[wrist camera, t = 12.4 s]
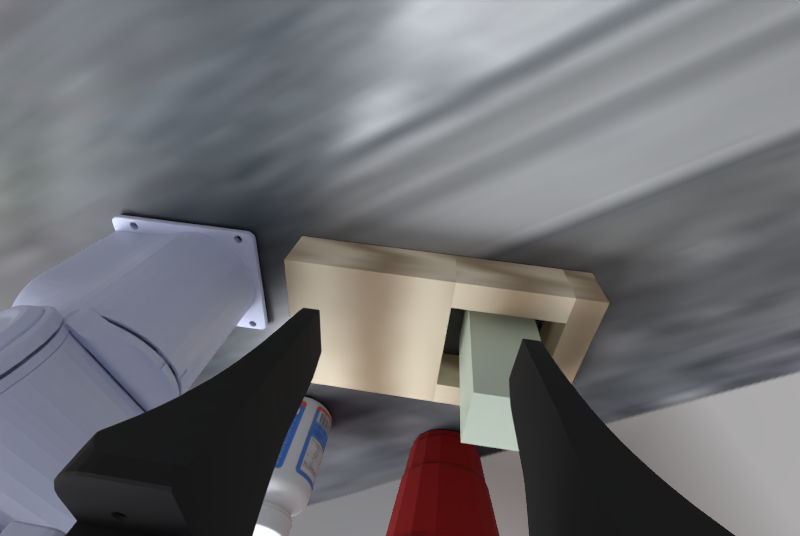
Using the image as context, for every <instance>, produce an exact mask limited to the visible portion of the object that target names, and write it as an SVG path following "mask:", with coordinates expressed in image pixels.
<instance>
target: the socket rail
mask: <svg viewBox="0 0 800 536" xmlns="http://www.w3.org/2000/svg"><path fill="white" fill-rule="evenodd" d="M284 265H285V275H286V284H287V294H288V304H289V313H290V318H291V317H293V316H294V315H295V314H296V313H297V312H298V311H299V310H301V309H302V308H310V309H317V310H320V329H321V349H322V352H321V355H320V358H319V361H318V365H317V368H316V371H315V374H314V377H313V379H312V381H311V383H316V384H323V385H329V386H336V387H342V388H349V389H355V390H362V391H368V392H375V393H381V394H388V395H394V396H401V397H407V398H414V399H421V400H427V401H434V402H440V403H447V404H453V405H460V369H459V355H453V354H446V353H443V348H444V343H445V337H446V332H447V327H448V322H449V316H450V311H451V308H457V309H464V310H472V311H479V312H486V313H494V314H501V315H508V316H516V317H523V318H530V319H537V320H544V322H543V325H542V327H541V330H540V333H539V335H540V339H541V342H542V344H543V345H544V347H545V348H546V349H547V351H548V352H549V354H550V355H551V356H552V358H553V359H554V361H555V362H556V364H557V365H558V366H559V368H560V369H561V371H562V372H563V373H564V375H565V376H566V377H567V379H568V380H569V381H570V383H571V384H572V382H573V380H574V378H575V375H576V373H577V371H578V369H579V367H580V365H581V363H582V361H583V358H584V356H585V354H586V352H587V350H588V348H589V346H590V344H591V342H592V339H593V337H594V335H595V333H596V331H597V329H598V327H599V325H600V322H601V320H602V318H603V316H604V314H605V312H606V310H607V308H608V306H609V301H608V299H607V298H606V296H605V294H604V292H603V291H602V289H601V287H600V286H599V284H598V282H597V280H596V279H595V277H594V275H593V274H592V273H587V272H579V271H571V270H563V269H556V268H548V267H540V266H532V265H524V264H517V263H509V262H501V261H493V260H485V259H478V258H470V257H462V256H454V255H446V254H438V253H431V252H423V251H415V250H407V249H399V248H392V247H384V246H376V245H368V244H360V243H353V242H345V241H337V240H329V239H321V238H313V237H306V236H302V237H301V238H300V240H299V241H298V242H297V243H296V245H295V246H294V247H293V249H292V250H291V251H290V253H289V254H288V255H287V257H286V258H285V259H284Z"/></svg>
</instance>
